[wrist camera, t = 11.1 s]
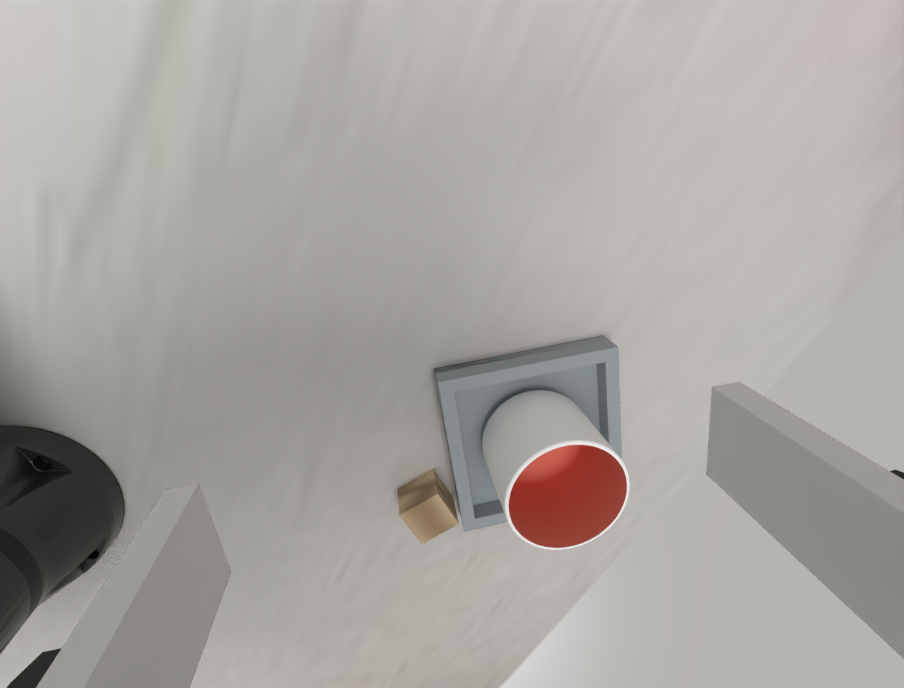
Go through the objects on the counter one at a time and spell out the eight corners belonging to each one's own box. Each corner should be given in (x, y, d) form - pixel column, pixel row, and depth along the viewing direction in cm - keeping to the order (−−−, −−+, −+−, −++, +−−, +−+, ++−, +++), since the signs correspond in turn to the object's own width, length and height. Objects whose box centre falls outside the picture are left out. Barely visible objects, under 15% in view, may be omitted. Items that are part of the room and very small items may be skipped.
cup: (574, 474, 49) (620, 546, 40) (476, 479, 48) (500, 555, 39) (587, 383, 46) (640, 438, 37) (482, 385, 45) (509, 443, 35)
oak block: (418, 515, 50) (421, 544, 46) (397, 488, 48) (399, 515, 45) (452, 496, 50) (458, 523, 46) (433, 468, 48) (437, 493, 44)
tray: (459, 511, 50) (464, 531, 47) (434, 368, 45) (437, 382, 42) (609, 478, 51) (622, 496, 49) (603, 335, 46) (618, 346, 43)
